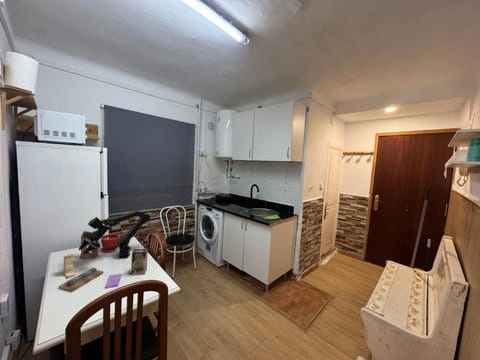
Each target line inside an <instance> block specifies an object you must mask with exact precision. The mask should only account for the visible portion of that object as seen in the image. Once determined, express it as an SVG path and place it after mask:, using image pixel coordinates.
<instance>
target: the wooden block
mask: <svg viewBox="0 0 480 360" xmlns="http://www.w3.org/2000/svg"><path fill="white" fill-rule="evenodd" d="M82 238H83V236H82V235H81V236H80V245H81V244H82V242H83V239H82ZM87 247H88V245H87V246H86V247H84V248H83V249H81V250H80V254H79V259H80V260H84V259H85V260H86V259H96V258H98V256H99V248H97V249H95V250H92V251H90V252H88V253H86V254H83V252H84V251H85V250H86V249H87Z"/></svg>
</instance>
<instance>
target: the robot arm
mask: <svg viewBox="0 0 480 360" xmlns="http://www.w3.org/2000/svg"><path fill="white" fill-rule="evenodd" d="M135 217H139V218H138V221H137V222H136V223H135V224H134V225H133V227H132V228H131V229H130V230H129V231H128V232H127V233H126V235H124V236H120V239H119V240H118V242H117V246H118V249H119V251H118V259H128V258H129V257H130V256H131V254H130V251H131V250H130V249H131V247H130V245H129V244H130V241H131V240H132V239H133V237H134V235H136V233H137V232H139V230H140V229H141V227H142V226H143V225H145V224H147V223H148V222H149V221H150V220H151V215H150V214H148V213H146V212H142V211H139V210H138V209H135V210H134V211H130V212H127V213H124V214H121V215H118V216H117V215H116V216H110V217H107V218H105V219H100V218H98V217H97V216H96V217H94V218H92V219H91V220H89V222H88V223H87V225H88V226H89V227H90V228H92V229H93V230H94V231H85V230H83V232H82V234H81V236H83V238H82V239H83V242H82V244H81V243H80V246H79V247H78V250H79V251H81V249H83V248H84V247H86V246H87V249H86V250H85V251H84V252H83V254H86V253H88V252H91V251H92V250H95V249H97V248H98V249H100V248H101V247H102V245H101V242H99V240H101V238H103V236H105V235H106V234H107V232H108V231H111V232H112V231H113V227H115V226H117V225H118V224H119V223H122V222H124V221H126V220H129V219H133V218H135Z"/></svg>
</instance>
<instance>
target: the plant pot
mask: <svg viewBox="0 0 480 360" xmlns="http://www.w3.org/2000/svg"><path fill="white" fill-rule="evenodd" d="M120 238H121V236H120V234H116V233H110V234H109V233H108V234H104V235H103V238H102V237H101V238H100V244H101V252H103V253H113V252H115V251H116V250H117V249H119V247H118V246H117V242H118V240H119V239H120Z"/></svg>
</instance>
